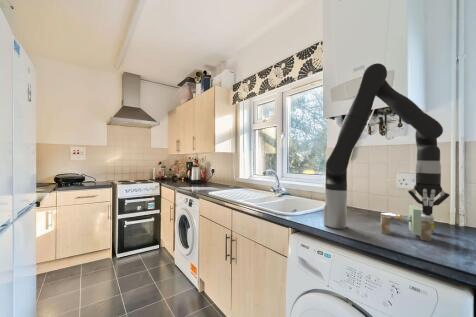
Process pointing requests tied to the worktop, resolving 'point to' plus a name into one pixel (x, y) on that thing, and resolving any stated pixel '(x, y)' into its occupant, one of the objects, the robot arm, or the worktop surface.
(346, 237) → the worktop surface
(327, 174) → the robot arm
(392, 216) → the metal pipe
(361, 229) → the worktop surface
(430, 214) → the supplement bottle
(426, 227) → the pipe stand
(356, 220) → the worktop surface
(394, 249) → the worktop surface
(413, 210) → the collar
